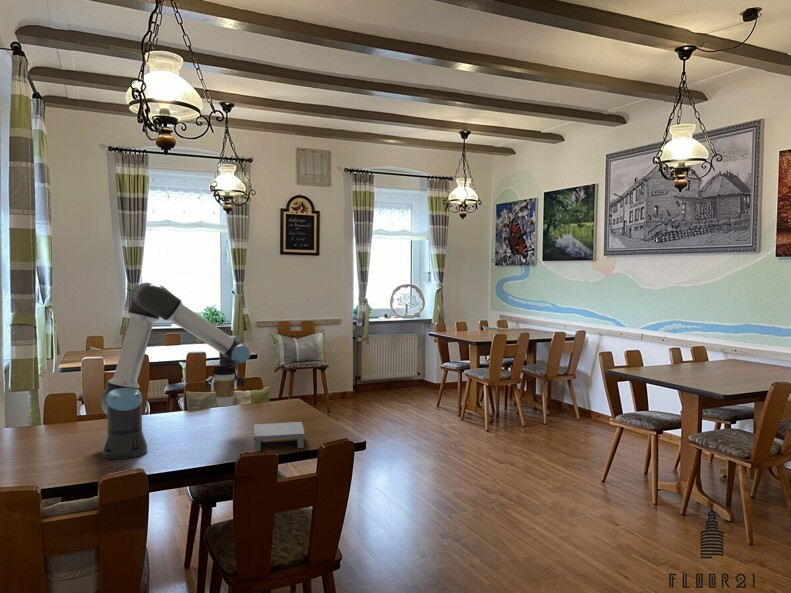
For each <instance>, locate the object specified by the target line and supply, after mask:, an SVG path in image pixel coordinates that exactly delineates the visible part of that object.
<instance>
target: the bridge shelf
mask: <svg viewBox="0 0 791 593" xmlns="http://www.w3.org/2000/svg"><path fill="white" fill-rule="evenodd" d="M304 438H306V433H305V429H304V425H303V422H302V421H295V422H277V423H275V422H273V423H258V424H257V423H255V424H254V425H253V441H254V452H255V453H258V452H257V451H261V446H262V445H261V443H262V442H261V441H266V440H280V439H281V440H283V439H284V440H285V439H296V440H297V441H296V445H298V446H297V449H298V450H300V449H299V448H304Z"/></svg>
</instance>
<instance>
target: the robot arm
mask: <svg viewBox="0 0 791 593" xmlns="http://www.w3.org/2000/svg"><path fill="white" fill-rule="evenodd" d="M129 298H130V303H129V307H128V310H127V314H128V315H129V318H130V320H129V321H128V322H129V323H128V326H127V329H126V334H125V336H124V339H123V344H122V347H121V351H120V354H119V357H118V361H117V365H116V368H115V372H114V374H113V377H112V378H111V379H109V380H108V381H107V383H106V388H105V390H104V391H103V393H102V394H101V397H100V400H99V401H100V407H101V410H102V411H103V414H105V415H106V418H107V419H106V421H107V425H106V426H107V430H106V431H107V435H106V439H105V441H104V443H103V444H104V445H103V448H102V453H101V454H102V457H103V458H104V459H107V460H127V459H133V458H137V457H140V456H143V455H145V454H146V453H147V452H148V443H147V441H146V438H145V435H144V433H143V418H142V417H143V412H142V411H143V409H142V408H143V405H142V404H143V397H142V392H141V391H140V385H139V383H138V379H139V375H140V373H141V372H140V371H141V368H142V364H143V361H144V358H145V355H146V351H147V347H148V343H149V340H150V338H151V337H150V336H151V332H152V329H153V326H154V323H156V322H157V321H159V319H160V318H161V319H163V320H165V321H171V322H172V323H174V324H175V325H177V326H179V327H181V328H182V329H183V330H184V331H186V332H188V333H190V334H191V335H193V336H194V337H195V338H197V339H199V340H200V341H202V342H203V343H205V344H206V345H208V346H210V347H211V348H212V349H215V350H216V351H218V352H219V356H218V357H219V362H218V363H219V366H218V367H220V366H235V370H236V373H235V382H234V391H237V390H238V389H237V388H238V387H241V386H243V387H245V386H246V378H245V377H244V375H242V374H241V375H239V367H238V365H239V364H243V363H244V364H245V363H246V362H247V361H248V360H249V359H250V357H251V349H250V348H249V347H248V346H247V345H245V344H243V343H241V342H240V341H238V337H237V336H235V335H229V334H227V333H226V332H225V331H223V330H221V329H220V328H219V327H217V326H216V325H214V324H212V323H211V322H209V321H208V320H206V319H205V318H203V317H202V316H200V315H199V314H197V313H196V312H194V311H193V310H192V309H190V308H189V307H187V306H185V305H184V304H183V302H182V299H180V298H179V297H177V296H176V295H174V294H173V293H172V291H169V290H168V289H167V288H166V287H165V286H163V285H161V284H159V283H154V282H143V283H140V284H138V285H136V287H134V288H133V290H132V291H131V293H130V297H129ZM238 363H239V364H238ZM214 379H215V378H214V376H211V375H210V376H208V378H206V379H205V380H204V387H205V388H209V390H211V392H214V391H215V383H214Z"/></svg>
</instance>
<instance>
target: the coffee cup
mask: <svg viewBox="0 0 791 593" xmlns="http://www.w3.org/2000/svg"><path fill="white" fill-rule="evenodd" d="M212 373H213V374H212V375H214V376H213V377H214V378H215V379H214V383H215V388H214V391H215V400H216V406H217V407H220V408H226V407H232V406H233V405H234V392H235V390H234V382H235V373H236V370H235V366H220V367H219V366H215V367H213V371H212Z"/></svg>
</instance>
